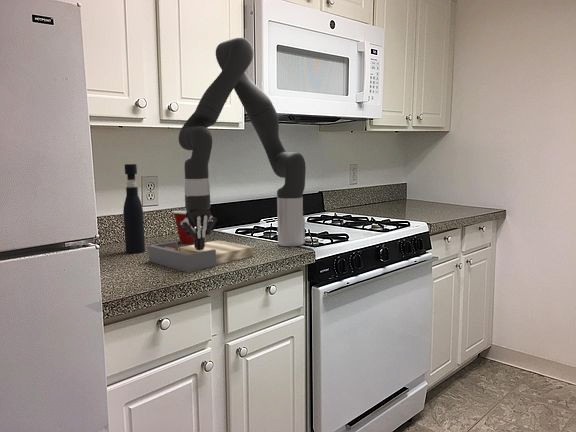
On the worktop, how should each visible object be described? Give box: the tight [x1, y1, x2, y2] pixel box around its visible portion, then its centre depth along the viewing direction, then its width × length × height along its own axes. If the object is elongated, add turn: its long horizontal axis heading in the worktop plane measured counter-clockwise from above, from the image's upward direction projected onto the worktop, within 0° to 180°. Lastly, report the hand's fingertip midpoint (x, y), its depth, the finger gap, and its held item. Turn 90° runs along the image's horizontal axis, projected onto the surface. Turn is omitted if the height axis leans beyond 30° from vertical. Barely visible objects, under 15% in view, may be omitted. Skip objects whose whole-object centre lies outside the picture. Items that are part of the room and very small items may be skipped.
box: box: [147, 240, 217, 273], centre depth 150 cm, size 10×21×5 cm, turn 46°
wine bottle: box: [123, 163, 146, 254], centre depth 166 cm, size 6×6×30 cm
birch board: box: [179, 239, 254, 265], centre depth 160 cm, size 16×18×3 cm
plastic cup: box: [172, 210, 194, 245], centre depth 183 cm, size 11×11×12 cm
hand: (199, 249), depth 150 cm, fingers closed
